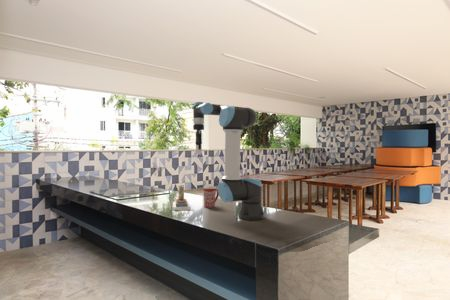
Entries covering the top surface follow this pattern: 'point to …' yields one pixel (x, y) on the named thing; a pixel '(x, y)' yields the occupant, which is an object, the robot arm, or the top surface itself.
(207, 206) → the mug
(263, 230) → the top surface
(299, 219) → the top surface
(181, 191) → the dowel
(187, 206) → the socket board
